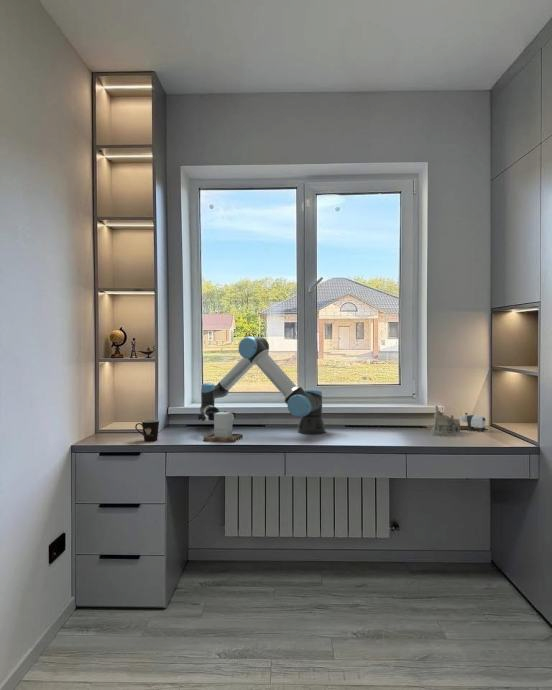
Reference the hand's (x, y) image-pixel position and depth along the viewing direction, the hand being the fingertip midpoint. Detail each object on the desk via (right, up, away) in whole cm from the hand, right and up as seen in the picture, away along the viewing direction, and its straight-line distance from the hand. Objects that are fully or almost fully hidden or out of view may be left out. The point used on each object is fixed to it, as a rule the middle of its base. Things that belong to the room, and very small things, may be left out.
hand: (220, 418), depth 275 cm
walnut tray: (+2, -10, -4) cm, 11 cm away
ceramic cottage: (+120, -10, +10) cm, 121 cm away
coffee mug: (-36, -11, -6) cm, 38 cm away
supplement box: (+2, -9, -4) cm, 11 cm away
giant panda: (+139, -10, +19) cm, 140 cm away
